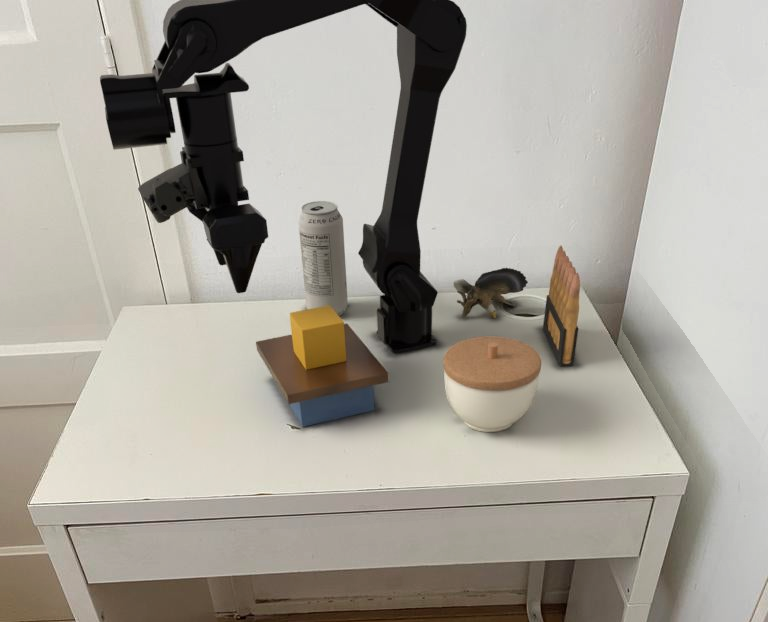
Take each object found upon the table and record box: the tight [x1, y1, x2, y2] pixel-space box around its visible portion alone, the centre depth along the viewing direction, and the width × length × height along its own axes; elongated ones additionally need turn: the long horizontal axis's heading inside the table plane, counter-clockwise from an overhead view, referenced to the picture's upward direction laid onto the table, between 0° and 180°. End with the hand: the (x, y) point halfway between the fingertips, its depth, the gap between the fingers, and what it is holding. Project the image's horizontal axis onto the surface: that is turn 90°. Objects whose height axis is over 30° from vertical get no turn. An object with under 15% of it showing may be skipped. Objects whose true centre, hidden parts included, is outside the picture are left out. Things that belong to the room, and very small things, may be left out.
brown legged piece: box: [453, 267, 529, 319], centre depth 111 cm, size 8×7×9 cm
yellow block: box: [289, 305, 346, 370], centre depth 91 cm, size 5×5×5 cm
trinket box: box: [442, 336, 542, 433], centre depth 88 cm, size 11×11×9 cm
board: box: [255, 323, 389, 405], centre depth 93 cm, size 12×14×1 cm
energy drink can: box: [297, 200, 349, 317], centre depth 109 cm, size 6×6×15 cm
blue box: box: [288, 385, 375, 428], centre depth 95 cm, size 9×12×4 cm
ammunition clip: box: [542, 245, 581, 367], centre depth 100 cm, size 11×2×12 cm, turn 3°
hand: (232, 277), depth 94 cm, fingers open, 9 cm apart
